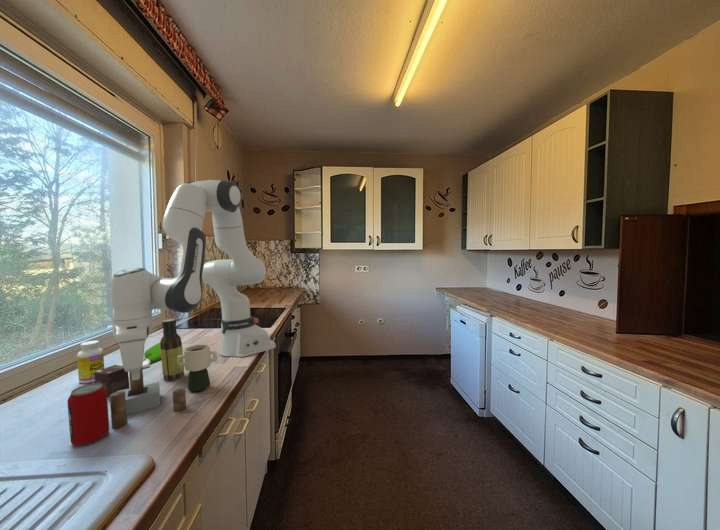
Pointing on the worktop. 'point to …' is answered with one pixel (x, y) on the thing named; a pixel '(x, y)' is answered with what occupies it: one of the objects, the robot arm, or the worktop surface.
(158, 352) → the spray bottle
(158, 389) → the socket block
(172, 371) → the sauce bottle
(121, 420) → the medium pin
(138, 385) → the long pin
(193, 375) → the character mug
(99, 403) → the beverage can
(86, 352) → the supplement bottle
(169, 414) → the worktop surface
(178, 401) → the short pin
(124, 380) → the box
